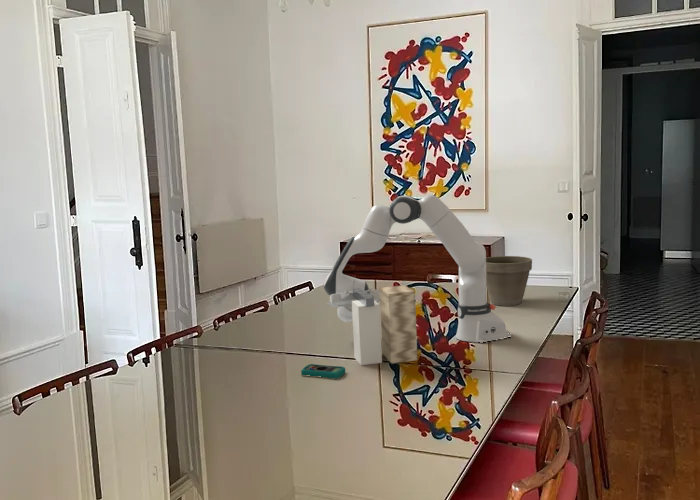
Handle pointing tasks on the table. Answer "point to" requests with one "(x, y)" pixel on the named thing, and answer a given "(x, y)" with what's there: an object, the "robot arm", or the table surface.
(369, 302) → the rod
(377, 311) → the block
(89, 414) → the table surface
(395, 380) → the table surface
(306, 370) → the digital multimeter
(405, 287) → the tall stand
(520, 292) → the plant pot
